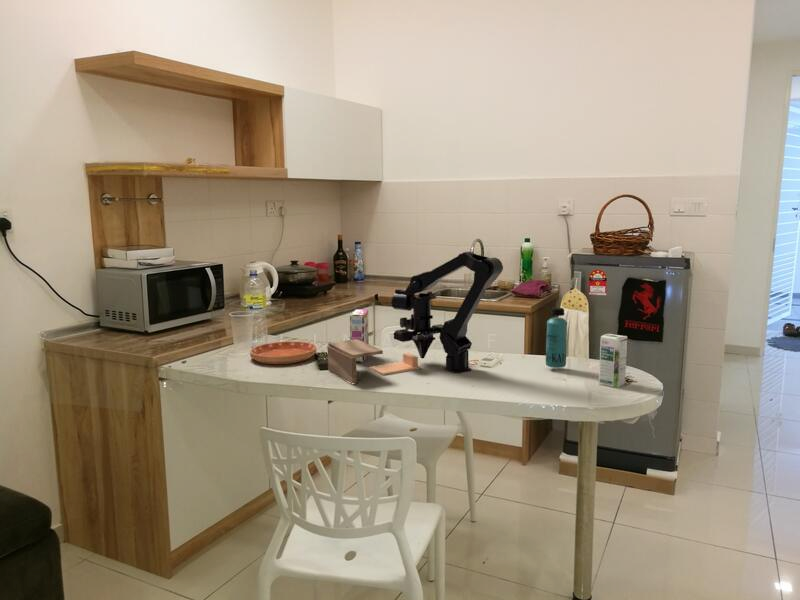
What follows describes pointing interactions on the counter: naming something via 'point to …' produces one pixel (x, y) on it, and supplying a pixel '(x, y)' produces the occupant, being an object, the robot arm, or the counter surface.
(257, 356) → the saucer
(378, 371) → the wooden plank with block
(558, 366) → the beverage bottle
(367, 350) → the overhang shelf
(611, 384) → the syrup box
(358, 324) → the candy bar box
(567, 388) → the counter surface
